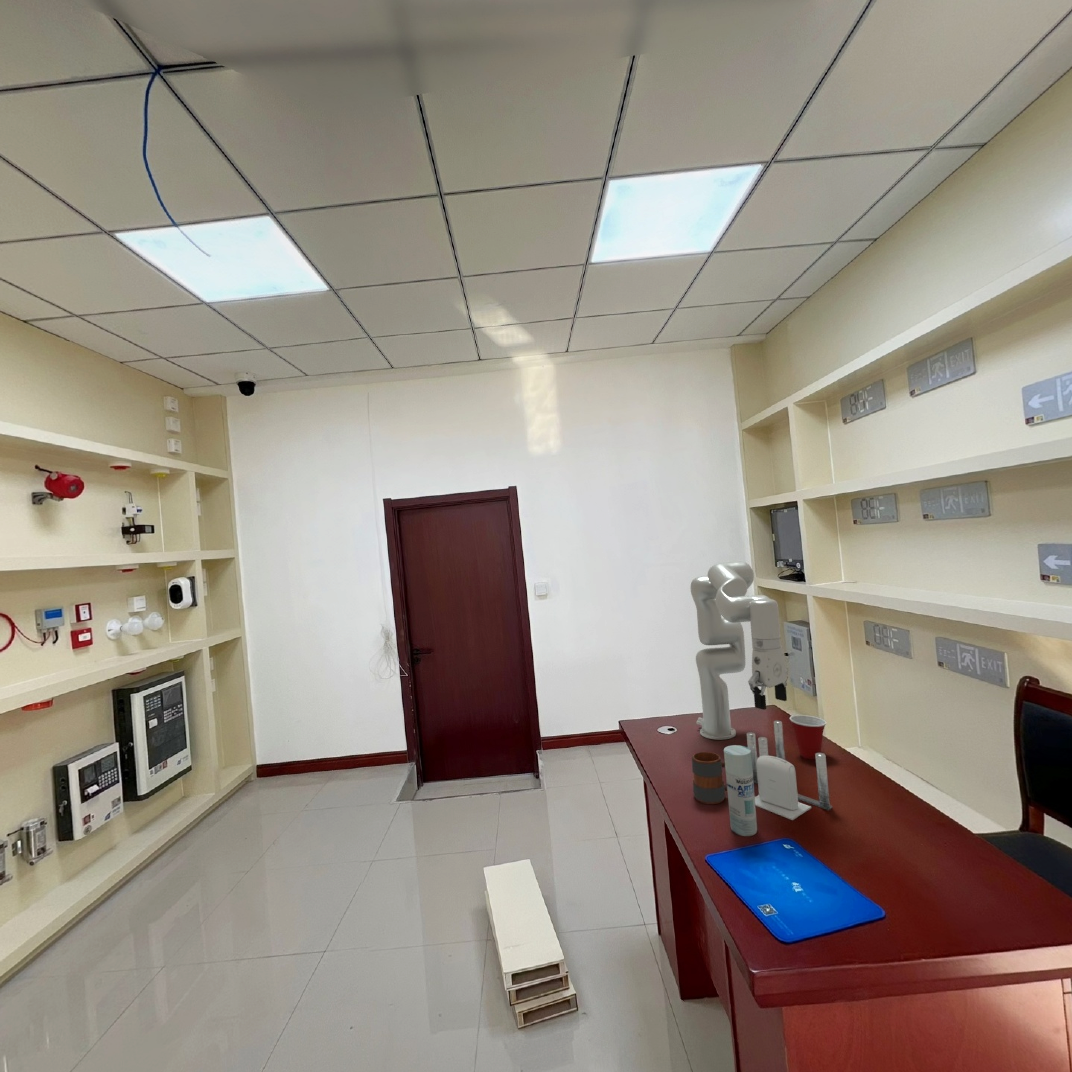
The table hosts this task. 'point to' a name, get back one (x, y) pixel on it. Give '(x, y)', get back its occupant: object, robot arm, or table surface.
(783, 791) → the photo printer
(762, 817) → the table surface
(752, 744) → the gate
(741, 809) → the spray paint can
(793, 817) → the mat
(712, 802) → the mug
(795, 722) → the plastic cup
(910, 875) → the table surface
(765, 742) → the gate
